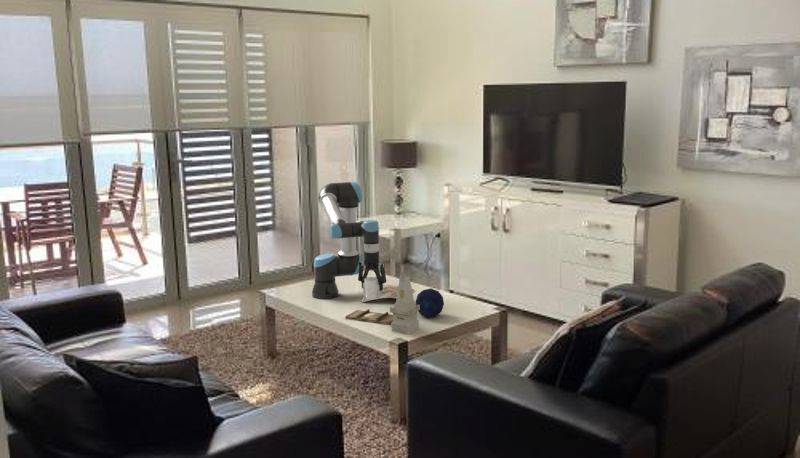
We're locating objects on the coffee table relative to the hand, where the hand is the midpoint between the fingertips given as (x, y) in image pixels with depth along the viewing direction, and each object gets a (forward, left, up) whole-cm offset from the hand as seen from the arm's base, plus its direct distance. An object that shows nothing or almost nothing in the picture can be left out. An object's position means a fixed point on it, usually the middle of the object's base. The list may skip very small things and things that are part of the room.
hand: (372, 295), depth 352 cm
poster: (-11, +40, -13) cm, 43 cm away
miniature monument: (+23, -10, -12) cm, 28 cm away
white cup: (0, 0, -1) cm, 1 cm away
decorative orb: (+25, +15, -12) cm, 32 cm away
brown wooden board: (0, 0, -12) cm, 12 cm away
